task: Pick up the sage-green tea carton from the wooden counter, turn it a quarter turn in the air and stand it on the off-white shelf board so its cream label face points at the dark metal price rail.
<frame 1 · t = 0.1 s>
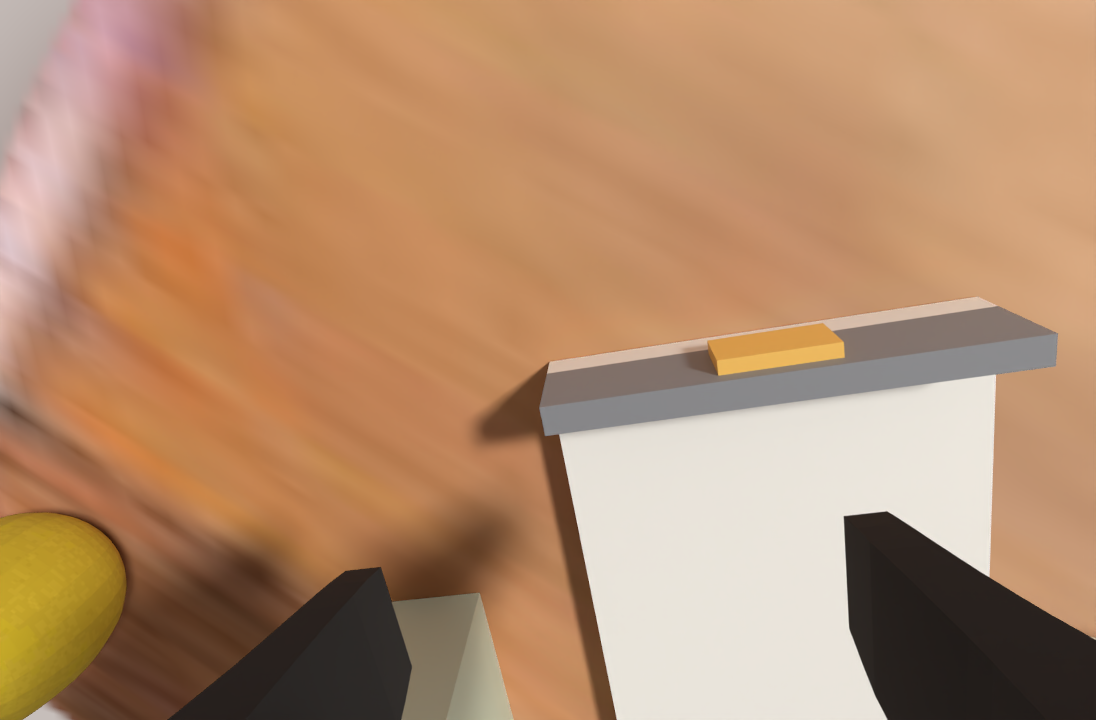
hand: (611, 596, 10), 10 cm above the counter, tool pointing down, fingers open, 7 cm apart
lemon: (104, 534, 23), on the counter
shelf board: (775, 562, 21), on the counter
tea carton: (444, 664, 24), on the counter
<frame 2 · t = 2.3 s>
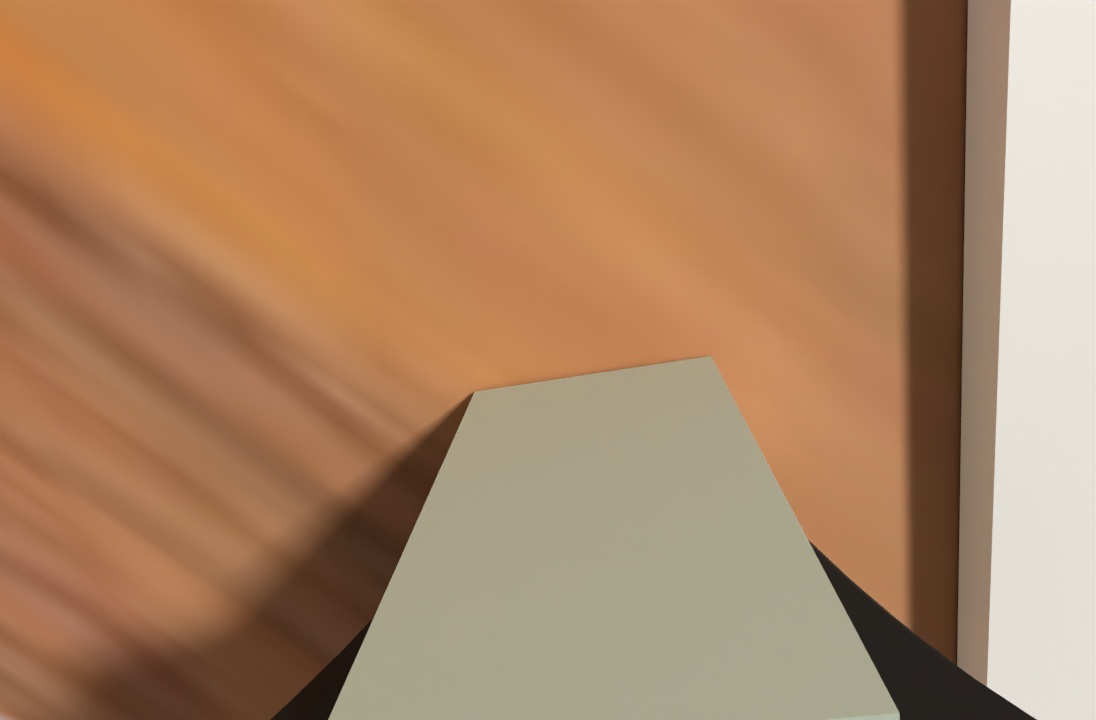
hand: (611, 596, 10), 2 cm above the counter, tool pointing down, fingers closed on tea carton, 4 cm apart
tea carton: (617, 526, 12), on the counter, touching gripper
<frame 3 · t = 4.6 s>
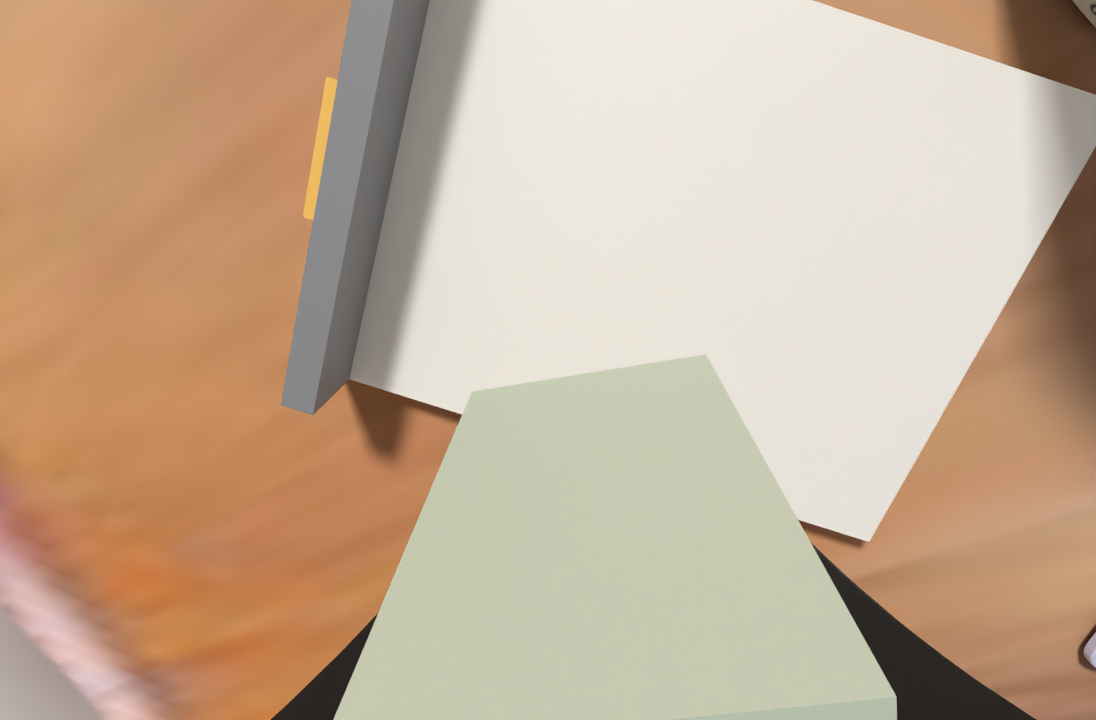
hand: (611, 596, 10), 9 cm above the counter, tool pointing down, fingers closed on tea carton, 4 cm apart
shelf board: (671, 245, 17), on the counter
tea carton: (614, 524, 12), point 7 cm above the counter, touching gripper
when the fingers open (4 cm above the counter, at t = 7.0 s): tea carton drops 1 cm, resting on shelf board.
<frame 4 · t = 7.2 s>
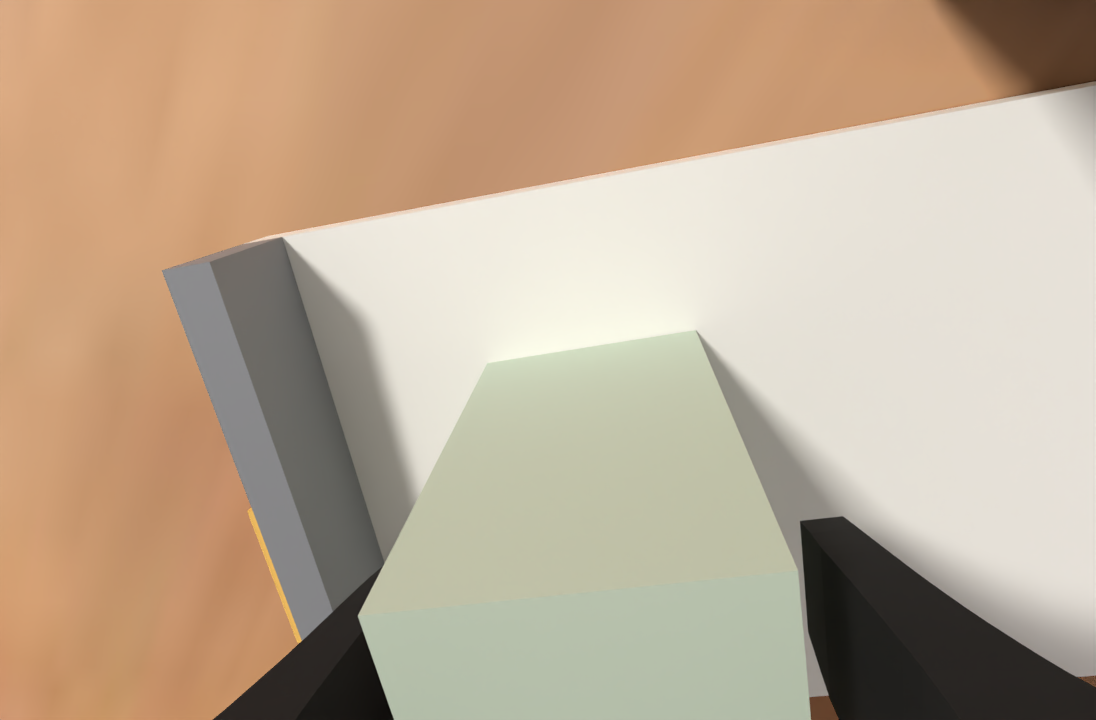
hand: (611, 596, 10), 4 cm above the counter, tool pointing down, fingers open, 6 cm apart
shelf board: (701, 449, 14), on the counter
tea carton: (614, 484, 13), point 1 cm above the counter, touching shelf board
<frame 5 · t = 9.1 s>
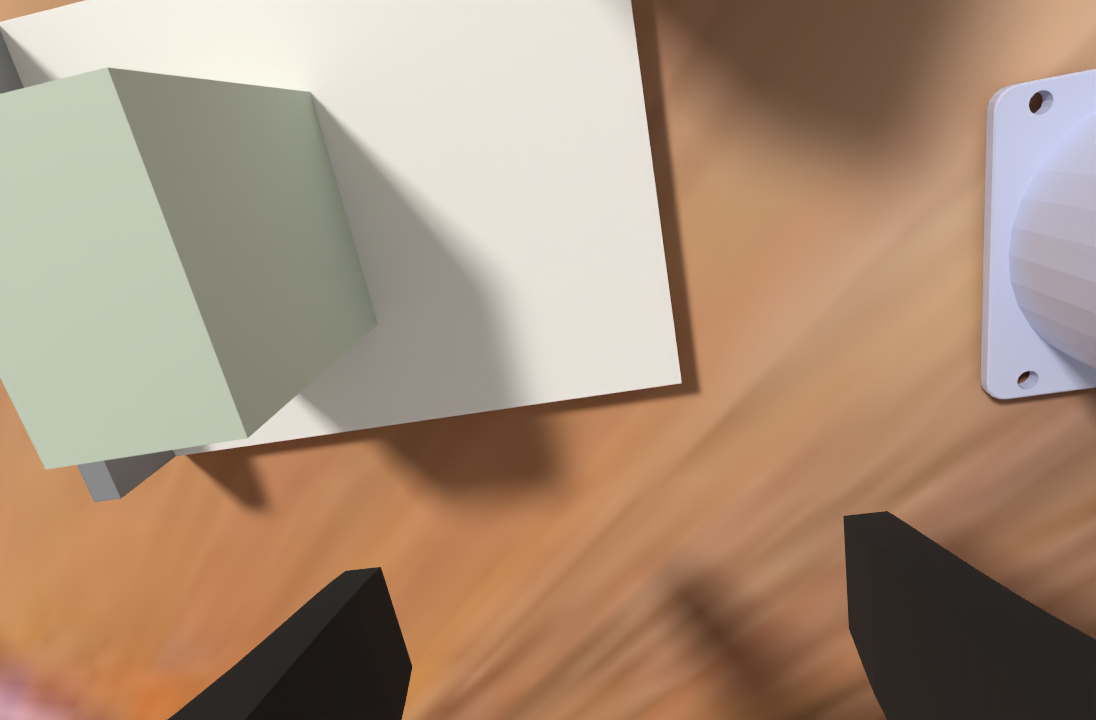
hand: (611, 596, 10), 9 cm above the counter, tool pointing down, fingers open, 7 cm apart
shelf board: (355, 210, 18), on the counter
tea carton: (274, 228, 17), point 1 cm above the counter, touching shelf board
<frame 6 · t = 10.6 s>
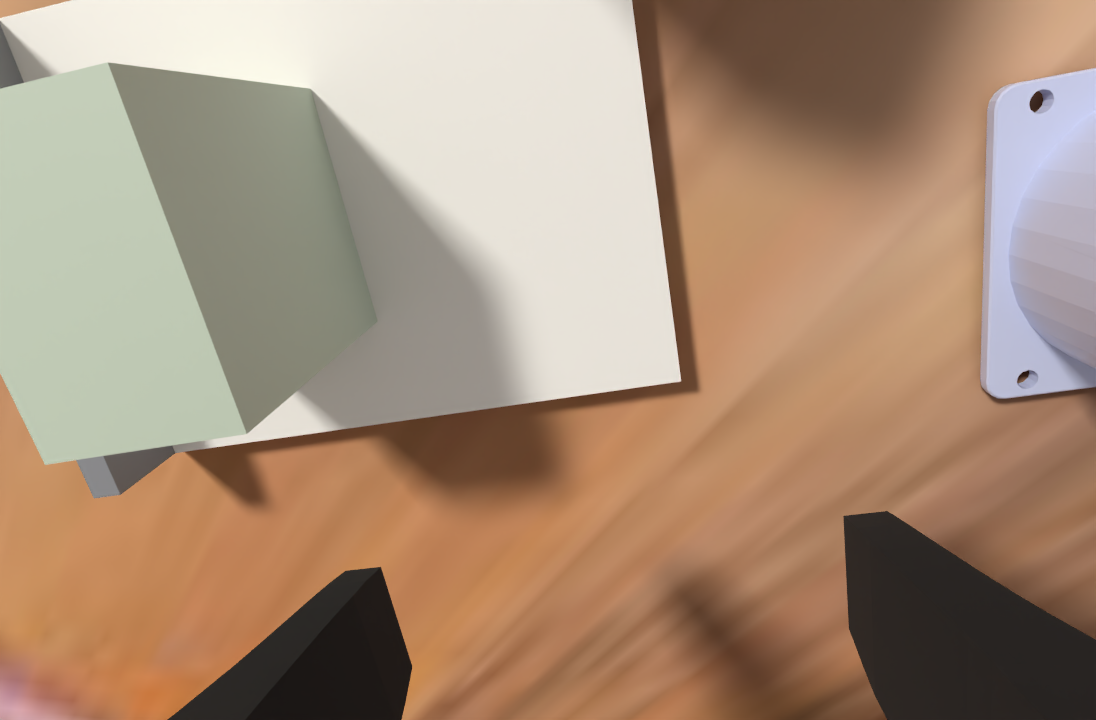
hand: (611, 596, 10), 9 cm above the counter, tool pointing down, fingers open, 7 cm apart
shelf board: (356, 207, 18), on the counter
tea carton: (274, 225, 17), point 1 cm above the counter, touching shelf board
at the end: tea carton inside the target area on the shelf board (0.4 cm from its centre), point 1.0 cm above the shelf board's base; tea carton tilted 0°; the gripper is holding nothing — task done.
